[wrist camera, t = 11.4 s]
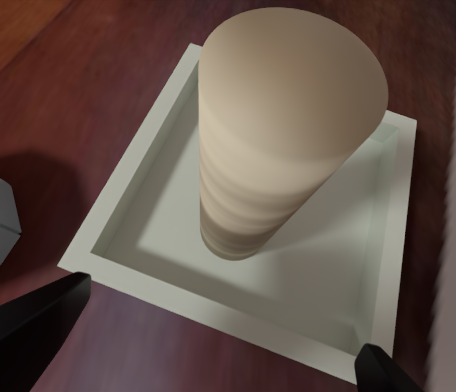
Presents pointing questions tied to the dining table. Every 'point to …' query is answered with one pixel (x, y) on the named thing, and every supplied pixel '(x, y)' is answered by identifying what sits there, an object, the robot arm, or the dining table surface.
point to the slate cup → (7, 220)
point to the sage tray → (269, 253)
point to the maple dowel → (277, 120)
